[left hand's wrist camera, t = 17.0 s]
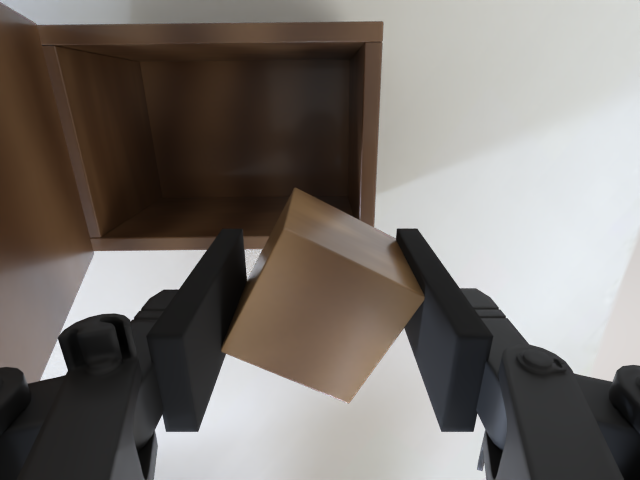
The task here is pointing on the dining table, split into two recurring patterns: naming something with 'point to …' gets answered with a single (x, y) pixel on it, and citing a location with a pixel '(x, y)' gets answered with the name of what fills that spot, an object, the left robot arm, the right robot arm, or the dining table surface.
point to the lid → (34, 205)
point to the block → (323, 299)
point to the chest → (214, 125)
